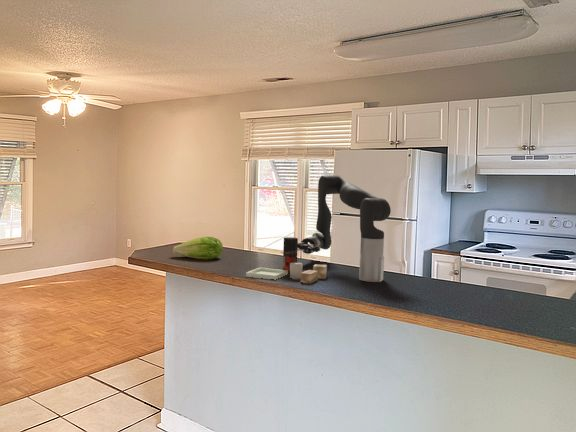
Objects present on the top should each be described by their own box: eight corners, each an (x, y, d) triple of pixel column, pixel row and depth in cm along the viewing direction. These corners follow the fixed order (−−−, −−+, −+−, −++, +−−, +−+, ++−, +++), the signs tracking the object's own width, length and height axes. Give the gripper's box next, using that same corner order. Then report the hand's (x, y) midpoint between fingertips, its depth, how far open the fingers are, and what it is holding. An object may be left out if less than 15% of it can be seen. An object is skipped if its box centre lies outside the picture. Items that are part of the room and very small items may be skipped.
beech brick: (317, 280, 193) (317, 270, 192) (310, 284, 185) (310, 274, 185) (308, 279, 194) (308, 269, 194) (300, 283, 187) (300, 273, 187)
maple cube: (326, 276, 201) (326, 264, 200) (325, 279, 196) (325, 266, 196) (314, 276, 202) (314, 264, 201) (312, 278, 197) (313, 266, 196)
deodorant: (279, 272, 206) (280, 237, 205) (289, 271, 210) (290, 237, 209) (289, 275, 201) (290, 239, 200) (299, 273, 206) (300, 238, 205)
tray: (287, 274, 202) (287, 270, 202) (275, 280, 190) (275, 275, 190) (259, 271, 207) (259, 267, 207) (246, 276, 195) (246, 272, 195)
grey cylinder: (304, 277, 197) (304, 262, 196) (299, 279, 192) (299, 264, 192) (292, 276, 198) (292, 262, 198) (288, 278, 194) (288, 263, 194)
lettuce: (177, 244, 247) (171, 232, 236) (225, 243, 246) (221, 230, 235) (174, 265, 240) (168, 254, 230) (223, 264, 239) (219, 252, 229)
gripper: (296, 235, 233) (284, 239, 218) (325, 238, 228) (314, 242, 213) (296, 251, 234) (283, 256, 218) (324, 254, 228) (313, 259, 213)
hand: (299, 249), depth 216 cm, fingers open, 8 cm apart
